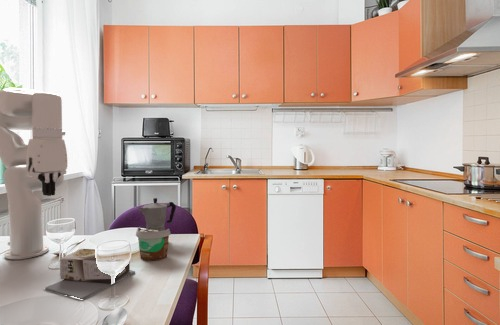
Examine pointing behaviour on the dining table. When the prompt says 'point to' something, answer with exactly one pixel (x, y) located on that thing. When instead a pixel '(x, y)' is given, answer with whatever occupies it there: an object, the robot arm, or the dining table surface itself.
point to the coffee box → (85, 267)
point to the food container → (153, 244)
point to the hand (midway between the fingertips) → (48, 194)
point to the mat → (81, 287)
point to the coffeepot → (157, 214)
